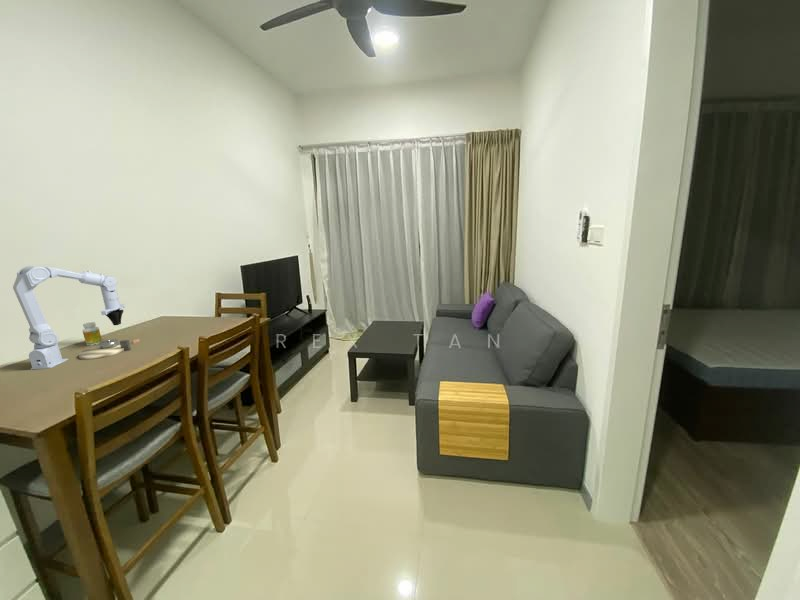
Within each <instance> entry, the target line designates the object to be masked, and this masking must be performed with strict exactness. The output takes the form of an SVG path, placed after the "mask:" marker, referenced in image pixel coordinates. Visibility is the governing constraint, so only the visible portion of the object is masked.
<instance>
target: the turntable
mask: <svg viewBox="0 0 800 600" xmlns="http://www.w3.org/2000/svg"><path fill="white" fill-rule="evenodd" d="M131 350H132V347H131V343H130V339H124V340H120V341H119V345H118V346H116V347H113V348H108V349H101V348H100V345H97V346H93V347H90V348H88V349H85V350H83V351H81V352H79V353H78V358H79V359H80V360H85V361H86V360H98V359H105V358H107V357H108V358H109V357H111V356H114V355H118V354H120V353H123V352H128V351H129V352H130V351H131Z"/></svg>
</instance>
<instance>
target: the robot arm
mask: <svg viewBox="0 0 800 600" xmlns="http://www.w3.org/2000/svg"><path fill="white" fill-rule="evenodd" d="M56 277H59V278H66V279H72V280H77V281H78V282H80V283H81V284H85V285H91V286H96V287H100V292H101V295H102V300H103V303H104V309H103V310H101V311H100V313H101V316H104V315H105V316H106V317H107V318H108V319H109V320H110V321H111V323H112V325H113V326H119V325H121V324H122V317H123V313H124V309H125V308H126V305H125V303H124V304H123V303H121V302H120V300H119V299H120V298H119V295H118V291H117V287H116V286H117V284H118V280H116V278H115V277H114V276H111V275H105V274H103V273H100V274H99V273H95V272H92V270H87V271H82V272H77V271H76V272H75V271H71V270H66V269H62V268H57V267H49V266H48V267H45V266H40V265H39V266H34V265H28V266H23V267H22V268H21V269H19V270H18V271H17V273H16V278H15V280H14V283H13V284H12V285H13V286H12V289H13V291H14V293H15V296H16V298H17V300H18V303H19V305H20V307H21V310H22V312H23V314H24V316H25V319H26V321H27V323H28V326H29V328H28V331H29V337H28V339H29V341H30V342H31V343H32V344H34V346H33V350H32V351H30V352H29V354H28V358H29V361H30V364H31V368H30V370H32V369H33V370H42V369H51V368H53V367H56V366H57V365H59V364H62V363H64V362H66V361H68V360H69V358H63V356H62V353H61V349H60V346H59V342H58V341H59V336H58V334H57V333H56V332H54V330H53V329H52V327H51V326H50V325H49V324H48V323H47V320H46V317H45V315H44V313H43V311H42V308H41V306H40V304H39V301H38V299H37V297H36V294H35V292H34V290H35V288H36V287H37V286H38V285H39V284H41V283H43V282H45V281H47V280H48V279H49V278H50V279H52V278H56Z"/></svg>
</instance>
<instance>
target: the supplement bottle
mask: <svg viewBox="0 0 800 600" xmlns="http://www.w3.org/2000/svg"><path fill="white" fill-rule="evenodd" d="M96 325H97V324H96V322H94V321H92V322H86V323H83V324H82V326H83V329H82V335H83V338H84V341H85V345H86V346H88V345H90V346H95V345H94V344H96V345H99V344H98V343H100V342H103V339H102V336H101V332H100V328H99V327H98V326H96Z"/></svg>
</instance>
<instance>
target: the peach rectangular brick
mask: <svg viewBox="0 0 800 600" xmlns="http://www.w3.org/2000/svg"><path fill="white" fill-rule="evenodd" d="M139 341H140V338H137V339H133V340H131V343H132V344H136V342H137V343H140V342H141V341H140V342H139Z"/></svg>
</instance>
